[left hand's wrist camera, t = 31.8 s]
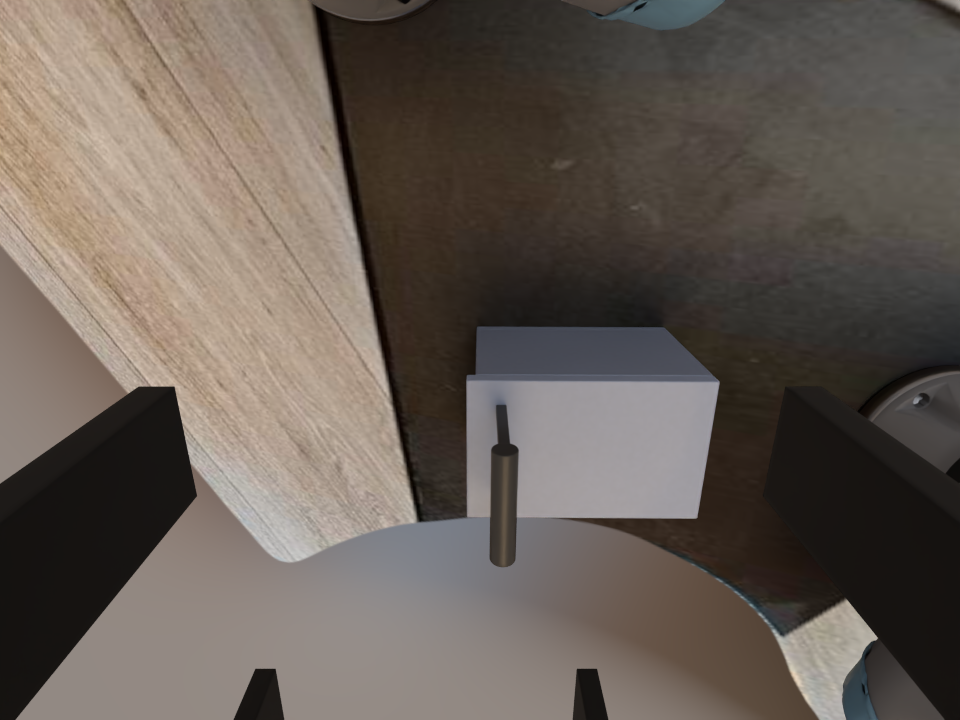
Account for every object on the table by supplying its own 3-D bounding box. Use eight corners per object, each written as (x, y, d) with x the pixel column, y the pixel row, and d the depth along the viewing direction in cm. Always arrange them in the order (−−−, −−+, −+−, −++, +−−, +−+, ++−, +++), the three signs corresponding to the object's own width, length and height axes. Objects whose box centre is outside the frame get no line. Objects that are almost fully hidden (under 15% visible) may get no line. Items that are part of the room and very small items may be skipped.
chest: (476, 437, 52) (475, 508, 42) (476, 326, 48) (475, 374, 38) (650, 438, 52) (692, 509, 42) (664, 327, 48) (713, 375, 38)
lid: (467, 508, 42) (464, 588, 34) (466, 374, 38) (463, 430, 31) (692, 509, 42) (738, 589, 34) (714, 375, 38) (771, 432, 31)
